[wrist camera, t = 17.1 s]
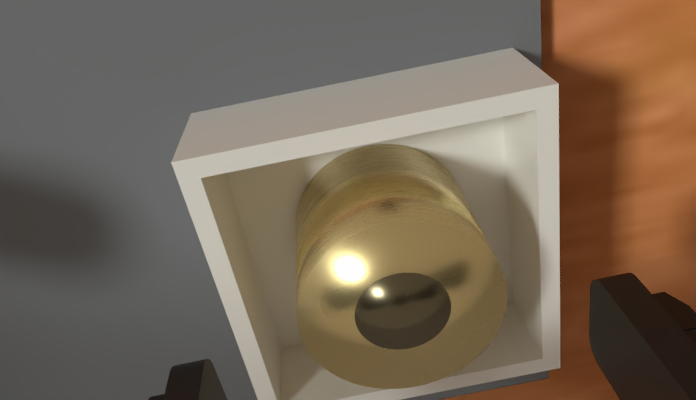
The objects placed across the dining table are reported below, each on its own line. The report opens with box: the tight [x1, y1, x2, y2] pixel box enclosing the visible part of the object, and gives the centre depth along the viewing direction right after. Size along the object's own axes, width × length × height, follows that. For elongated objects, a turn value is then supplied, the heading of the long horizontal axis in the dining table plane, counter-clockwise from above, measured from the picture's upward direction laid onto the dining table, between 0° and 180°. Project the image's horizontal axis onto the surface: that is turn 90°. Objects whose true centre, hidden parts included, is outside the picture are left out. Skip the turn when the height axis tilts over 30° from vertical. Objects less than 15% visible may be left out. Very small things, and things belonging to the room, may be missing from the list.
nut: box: [296, 144, 508, 389], centre depth 15 cm, size 5×5×4 cm
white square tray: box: [171, 48, 560, 400], centre depth 16 cm, size 8×8×3 cm
